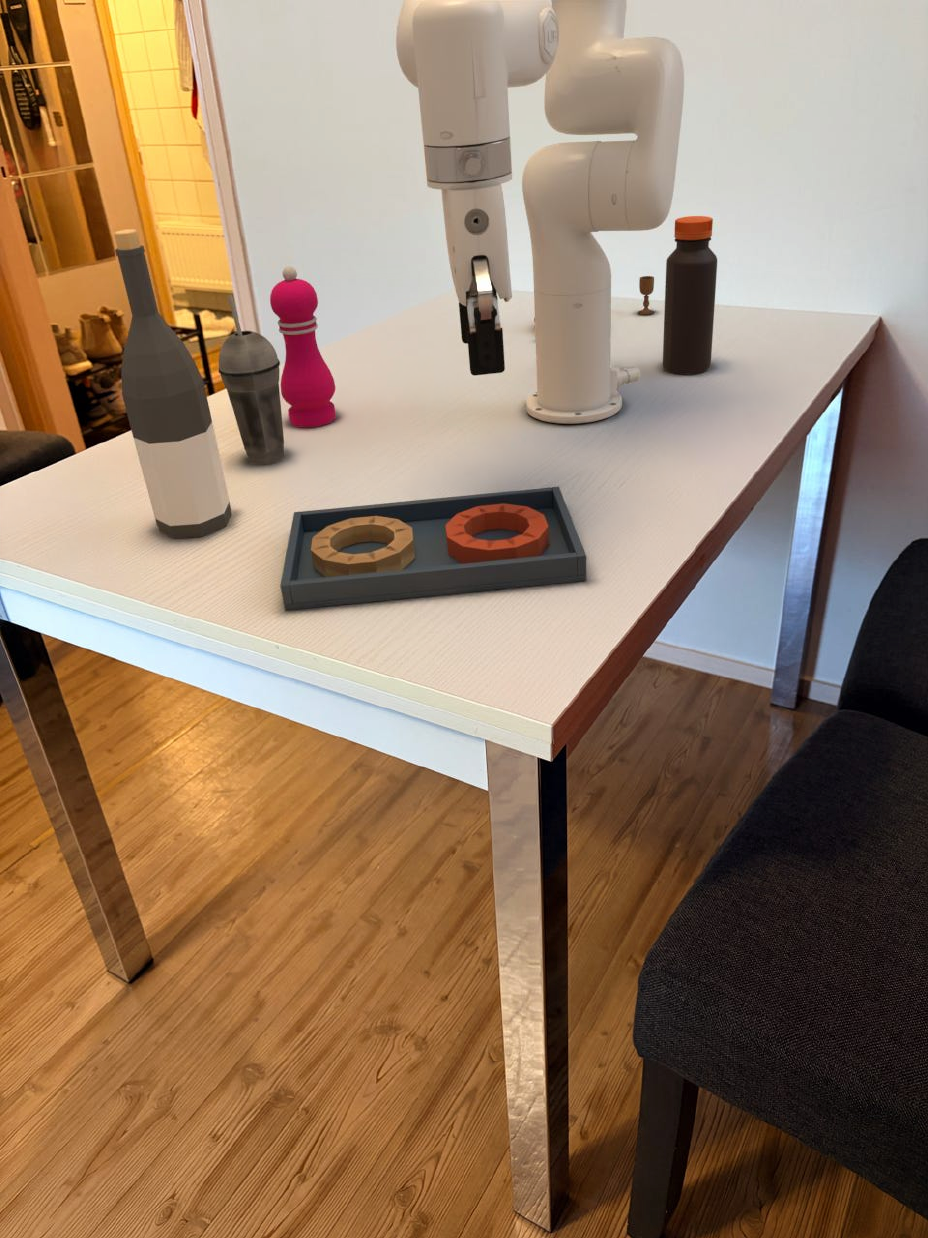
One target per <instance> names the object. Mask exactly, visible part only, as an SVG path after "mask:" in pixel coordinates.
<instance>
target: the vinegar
mask: <svg viewBox="0 0 928 1238" xmlns="http://www.w3.org/2000/svg"><path fill="white" fill-rule="evenodd" d="M713 221H714V219H713V217H711V216H706V215H704V216H703V215H690V216H683V217H679V218H675V220H674V242H676V247H675V249H674V250H673V251H672V252H671V253H670V254H669V256H668V257H667V258H666V263H665V290H664V294H665V295H664V316H663V319H664V320H663V339H662V340H663V342H662V368H663V369H664V371H666V372H668V373H671V374H677V375H693V374H694V375H695V374H700V373H703V372H706V371H707V370H709V369H710V367H712V366H711V365H712V353H713V352H712V351H713V339H714V338H713V337H714V336H713V335H714V323H715V322H714V321H715V304H716V290H717V277H718V276H717V275H718V274H717V272H718V257H717V255H716V253H714V251H713V250H712V249H711V248H710V241H711V240H712V237H713V223H714V222H713Z"/></svg>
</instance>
